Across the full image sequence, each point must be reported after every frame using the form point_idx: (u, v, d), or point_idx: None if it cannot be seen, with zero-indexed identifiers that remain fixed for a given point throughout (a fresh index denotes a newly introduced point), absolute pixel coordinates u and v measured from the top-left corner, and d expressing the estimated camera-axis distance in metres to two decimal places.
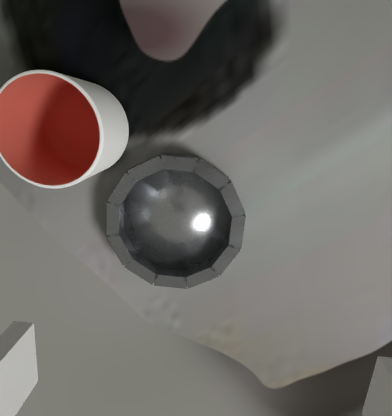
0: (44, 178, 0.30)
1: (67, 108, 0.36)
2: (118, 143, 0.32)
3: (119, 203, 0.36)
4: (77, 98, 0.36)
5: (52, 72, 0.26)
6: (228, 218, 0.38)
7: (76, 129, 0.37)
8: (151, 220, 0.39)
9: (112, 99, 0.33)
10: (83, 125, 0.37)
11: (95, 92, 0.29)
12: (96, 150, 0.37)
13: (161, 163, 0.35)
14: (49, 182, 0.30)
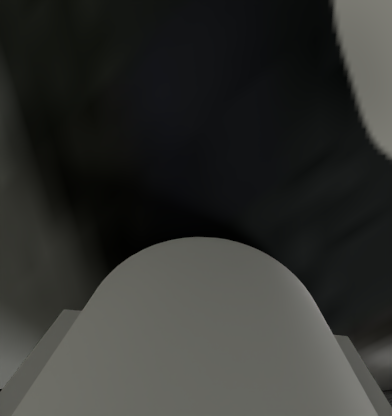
0: None
1: None
2: None
3: None
4: None
5: None
6: None
7: None
8: None
9: (324, 320, 0.10)
10: None
11: None
12: None
13: None
14: None
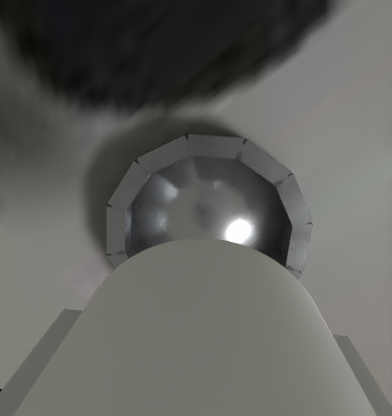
0: None
1: None
2: None
3: (125, 207, 0.25)
4: None
5: None
6: (282, 227, 0.27)
7: None
8: (170, 231, 0.27)
9: (324, 322, 0.10)
10: None
11: None
12: None
13: (188, 146, 0.23)
14: None
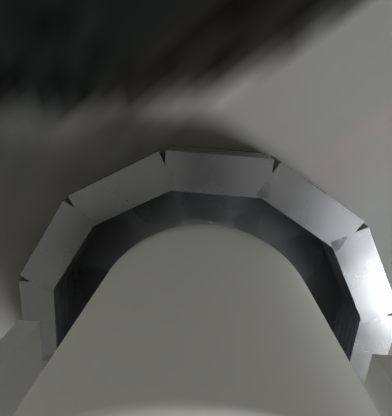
0: None
1: None
2: None
3: (52, 282, 0.13)
4: None
5: None
6: (333, 307, 0.15)
7: None
8: None
9: (311, 295, 0.12)
10: None
11: (345, 366, 0.08)
12: None
13: (166, 174, 0.12)
14: None
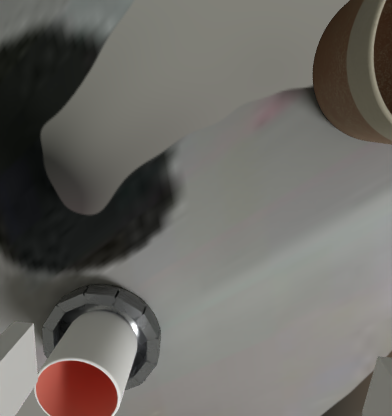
0: (73, 410, 0.39)
1: None
2: None
3: (52, 328, 0.43)
4: None
5: (82, 359, 0.35)
6: None
7: None
8: None
9: (125, 334, 0.41)
10: None
11: (113, 353, 0.38)
12: None
13: (85, 299, 0.42)
14: None
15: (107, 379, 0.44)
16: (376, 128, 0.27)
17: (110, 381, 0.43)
